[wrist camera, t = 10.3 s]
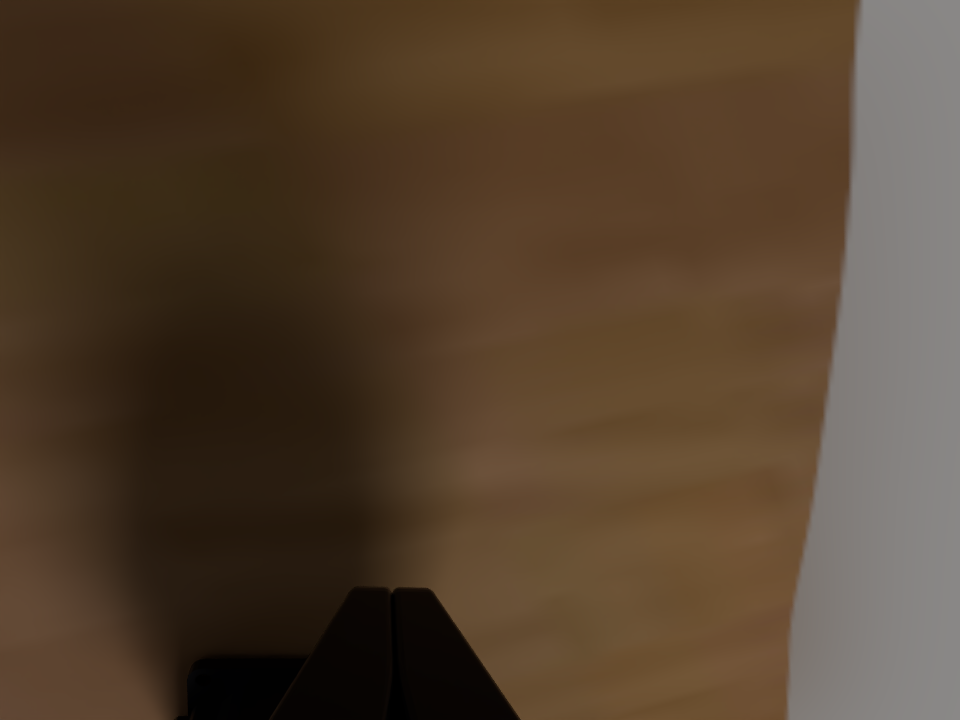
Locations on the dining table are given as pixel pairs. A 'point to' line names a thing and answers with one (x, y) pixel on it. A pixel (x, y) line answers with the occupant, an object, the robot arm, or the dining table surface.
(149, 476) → the dining table surface
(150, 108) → the dining table surface
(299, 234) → the dining table surface
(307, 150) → the dining table surface
